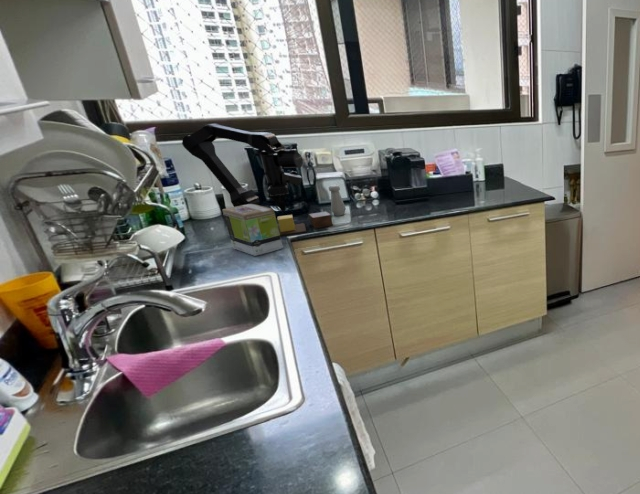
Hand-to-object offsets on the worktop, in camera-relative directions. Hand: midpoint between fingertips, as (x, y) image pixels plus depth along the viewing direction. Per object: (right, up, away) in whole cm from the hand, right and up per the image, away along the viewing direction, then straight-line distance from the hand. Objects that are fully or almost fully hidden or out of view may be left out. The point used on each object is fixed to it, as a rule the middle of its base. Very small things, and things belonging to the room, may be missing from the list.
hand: (283, 207), depth 181 cm
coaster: (0, -9, +3) cm, 9 cm away
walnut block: (+9, -6, +10) cm, 15 cm away
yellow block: (0, -8, +3) cm, 9 cm away
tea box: (+1, -17, -15) cm, 23 cm away
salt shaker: (+9, 0, +24) cm, 26 cm away
